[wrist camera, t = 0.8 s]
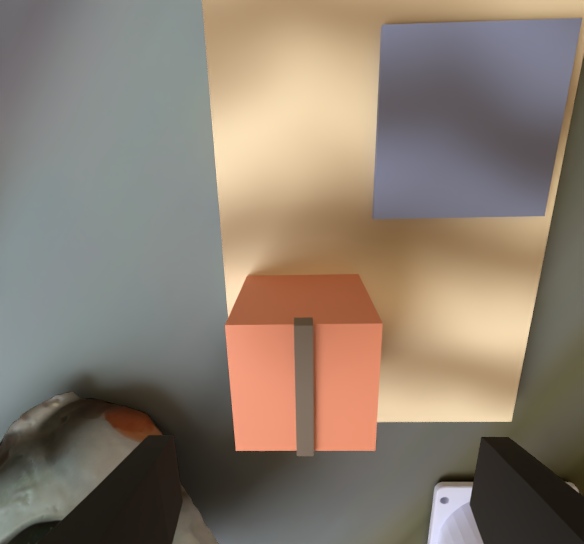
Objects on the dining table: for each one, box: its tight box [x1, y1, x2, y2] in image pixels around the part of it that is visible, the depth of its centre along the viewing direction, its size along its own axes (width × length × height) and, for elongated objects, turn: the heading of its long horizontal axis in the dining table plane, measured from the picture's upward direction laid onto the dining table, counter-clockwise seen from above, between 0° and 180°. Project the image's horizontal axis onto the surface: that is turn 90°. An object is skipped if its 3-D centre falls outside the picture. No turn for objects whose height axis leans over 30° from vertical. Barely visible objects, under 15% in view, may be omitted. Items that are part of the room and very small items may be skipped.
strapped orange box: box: [225, 274, 383, 456], centre depth 15 cm, size 5×5×5 cm
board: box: [202, 0, 584, 422], centre depth 15 cm, size 19×14×4 cm
